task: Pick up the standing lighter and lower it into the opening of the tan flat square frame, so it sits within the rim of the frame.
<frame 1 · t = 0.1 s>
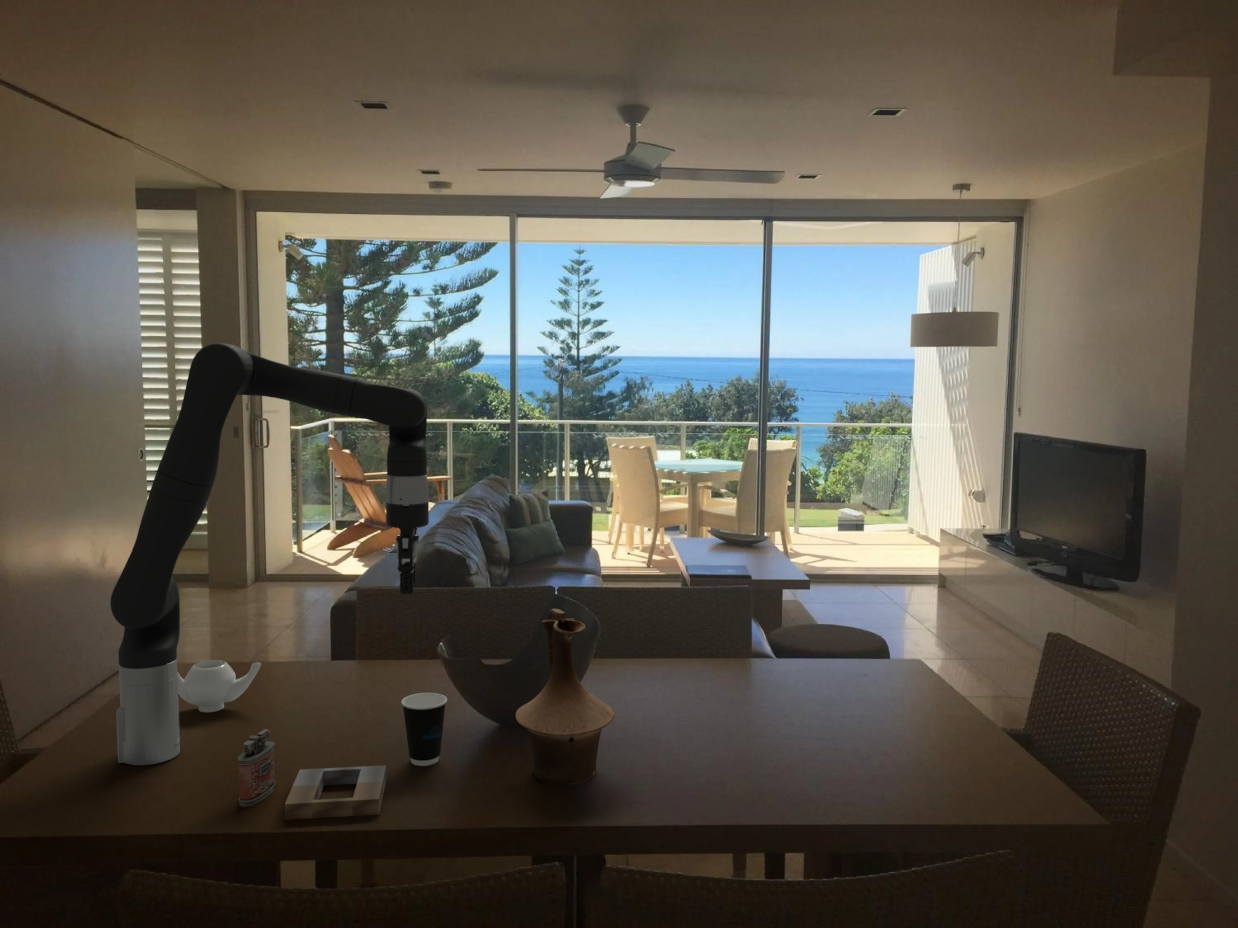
hand: (408, 588, 176), 29 cm above the table, tool pointing down, fingers open, 8 cm apart
teapot: (211, 709, 196), on the table
pitcher: (564, 772, 167), on the table
lighter: (257, 796, 156), on the table
dixie cup: (424, 761, 171), on the table
tan flat square frame: (338, 798, 155), on the table
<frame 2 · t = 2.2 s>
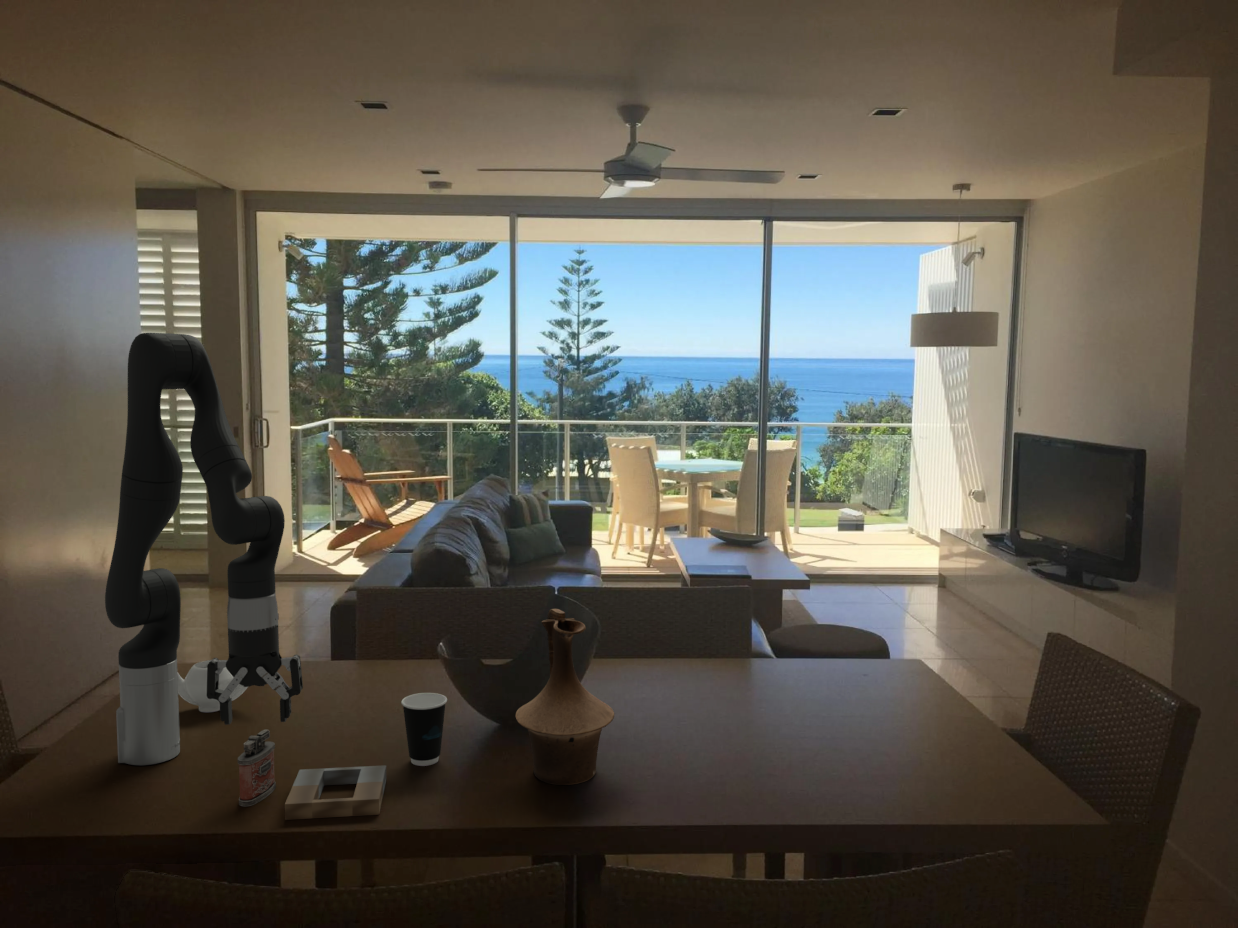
hand: (256, 721, 155), 12 cm above the table, tool pointing down, fingers open, 8 cm apart
nothing on the table moved.
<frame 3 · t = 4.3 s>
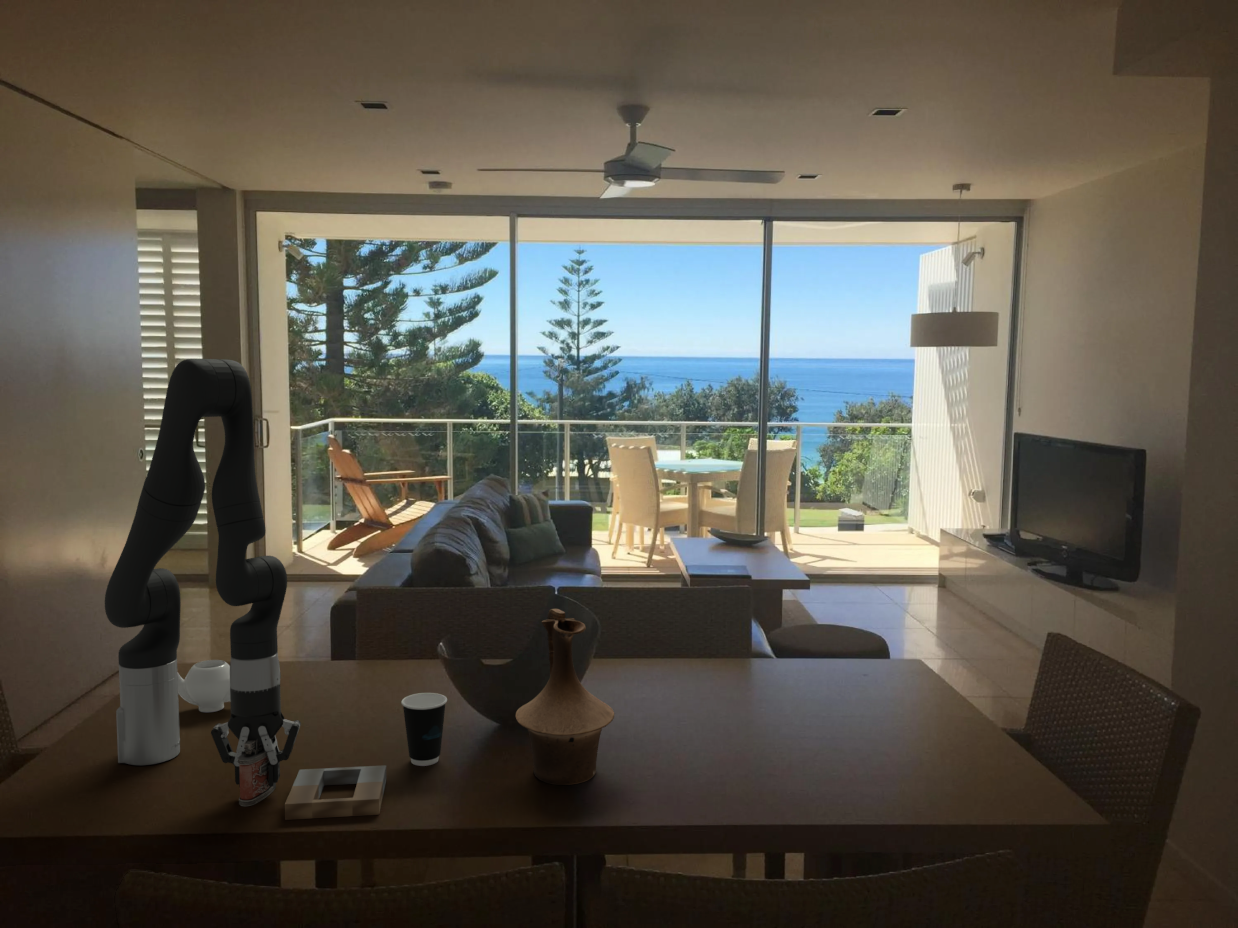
hand: (258, 784, 156), 2 cm above the table, tool pointing down, fingers closed on lighter, 4 cm apart
lighter: (257, 796, 156), on the table, touching gripper
everything else where it was.
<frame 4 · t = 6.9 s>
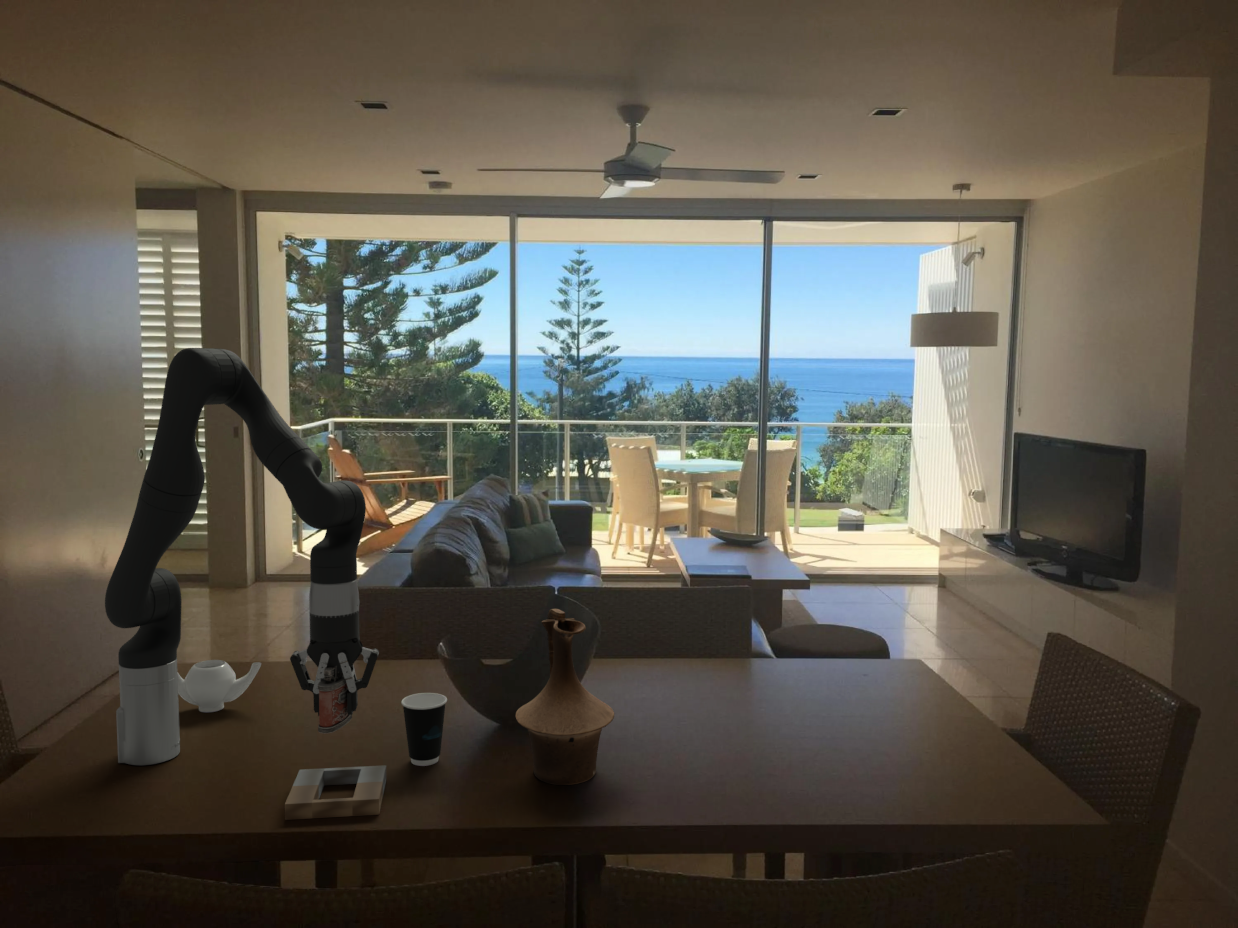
hand: (336, 713, 154), 14 cm above the table, tool pointing down, fingers closed on lighter, 4 cm apart
lighter: (335, 725, 154), point 12 cm above the table, touching gripper
everything else where it was.
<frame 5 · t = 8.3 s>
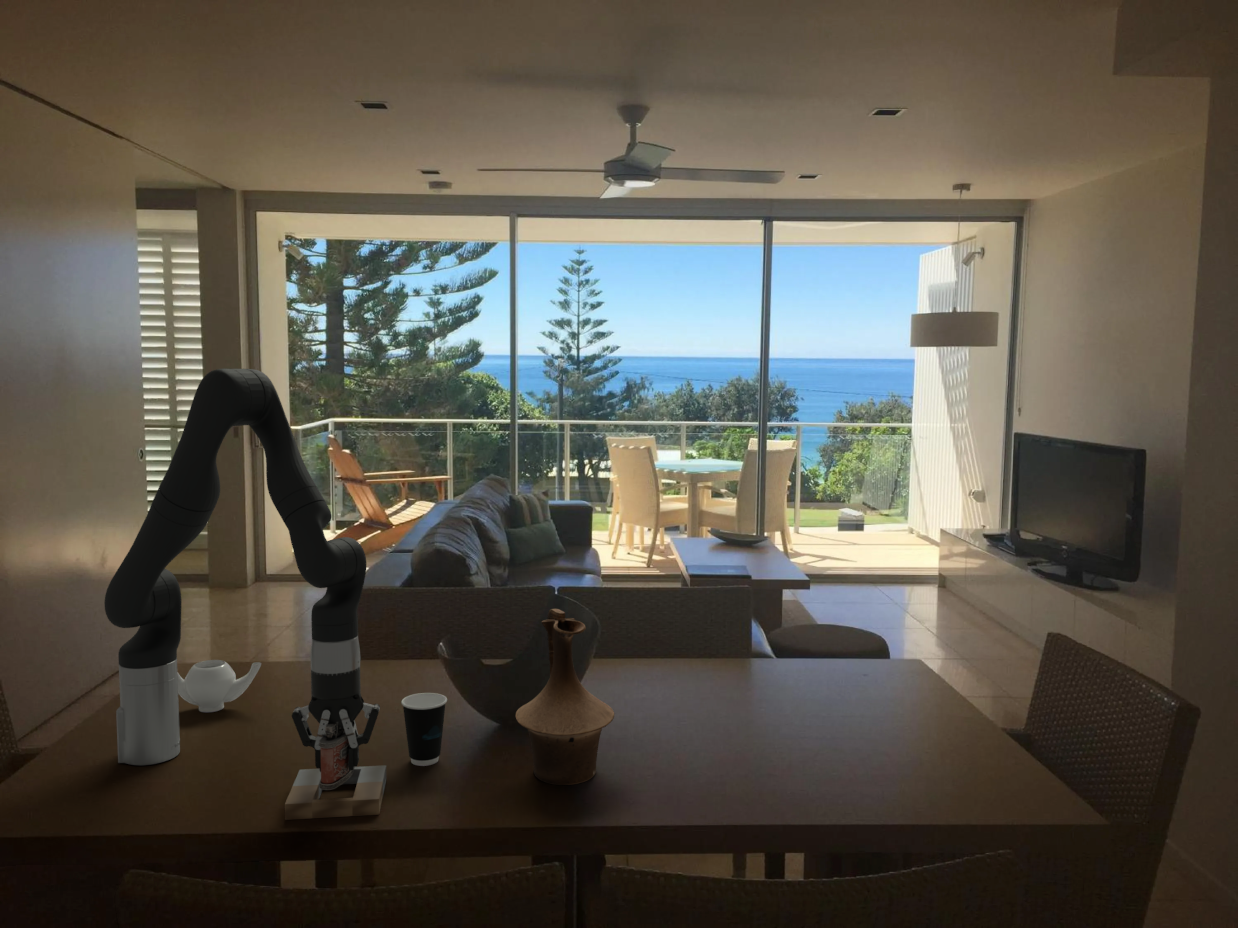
hand: (337, 768, 155), 5 cm above the table, tool pointing down, fingers closed on lighter, 4 cm apart
lighter: (336, 780, 155), point 3 cm above the table, touching gripper
everything else where it was.
when the fingers open (3 cm above the table, at t = 9.5 s): lighter drops 1 cm, resting in tan flat square frame.
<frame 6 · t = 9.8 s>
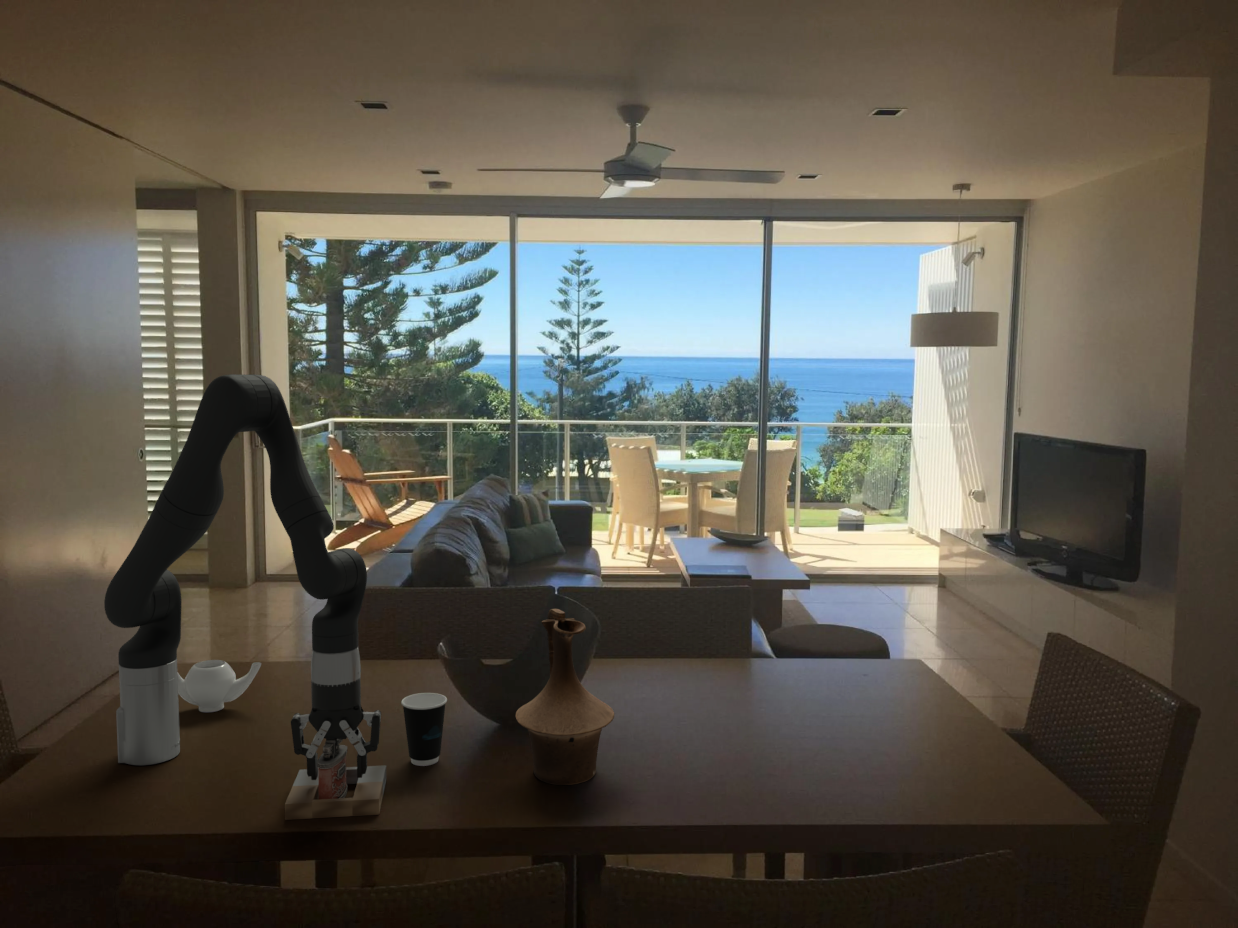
hand: (337, 776, 155), 4 cm above the table, tool pointing down, fingers open, 6 cm apart
lighter: (332, 800, 155), resting in tan flat square frame
everything else where it was.
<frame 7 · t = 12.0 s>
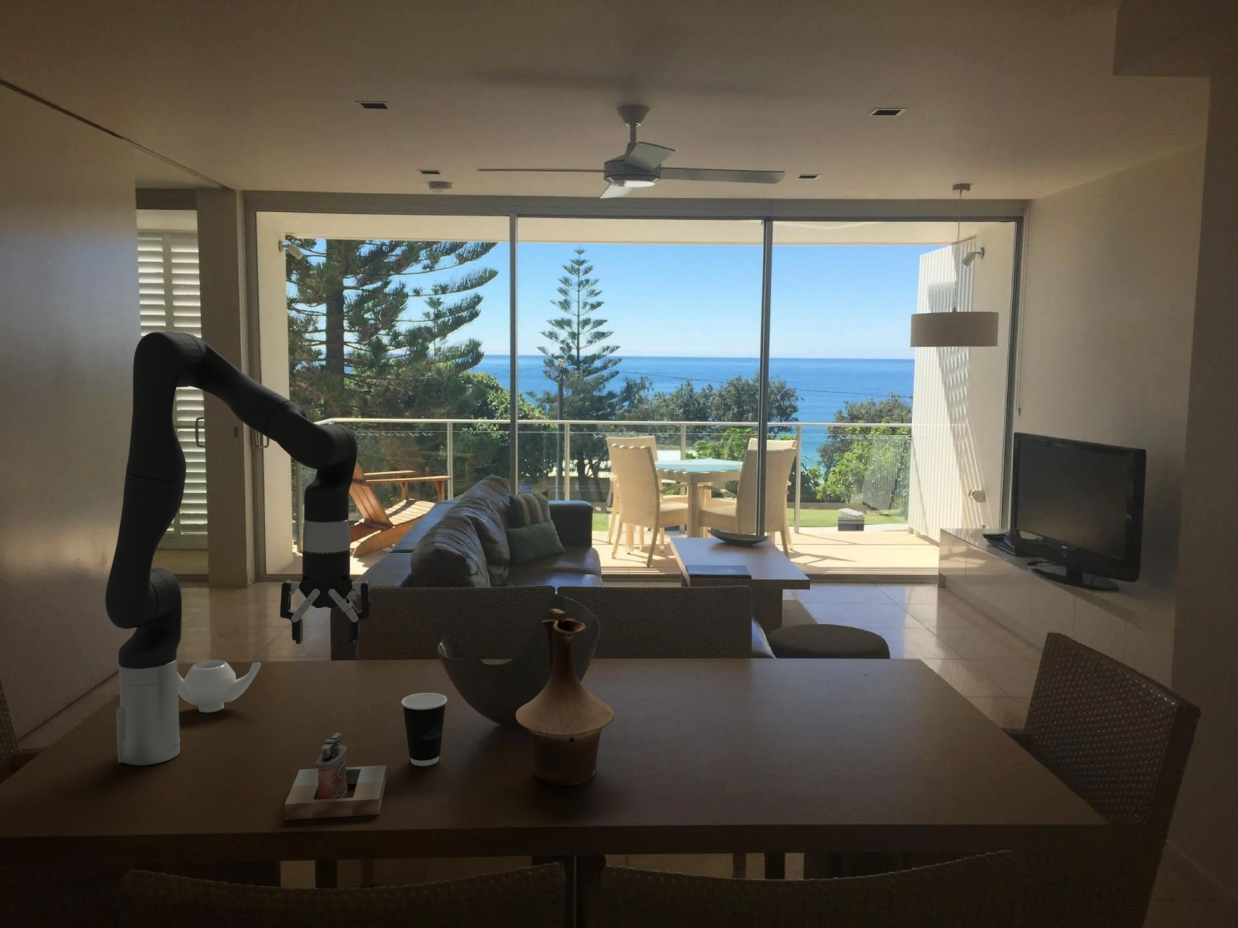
hand: (326, 642, 160), 24 cm above the table, tool pointing down, fingers open, 8 cm apart
nothing on the table moved.
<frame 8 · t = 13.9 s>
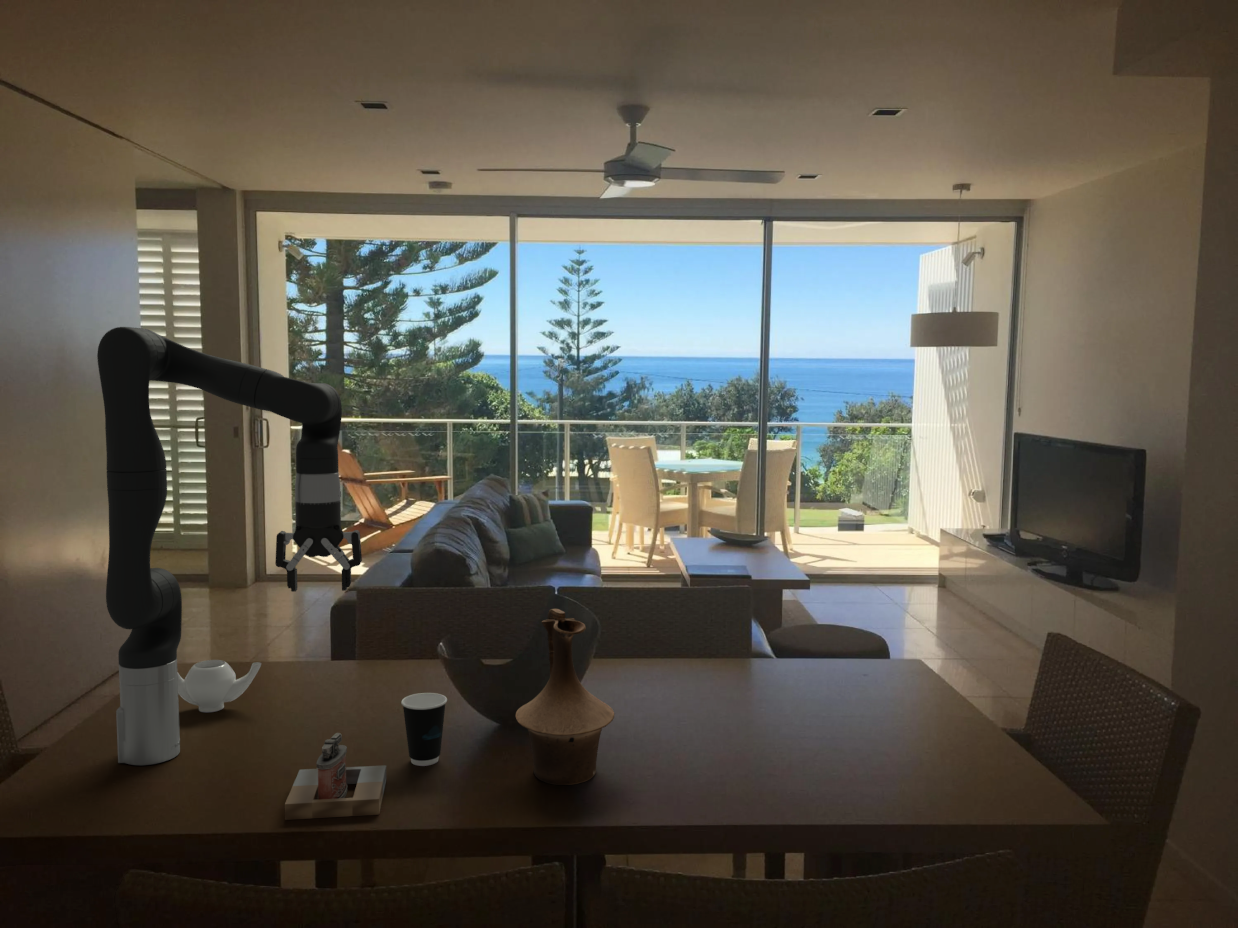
hand: (319, 590, 169), 30 cm above the table, tool pointing down, fingers open, 8 cm apart
nothing on the table moved.
at the end: lighter inside the target area on the tan flat square frame (0.8 cm from its centre), point 0.0 cm above the tan flat square frame's base; lighter tilted 0°; the gripper is holding nothing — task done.
